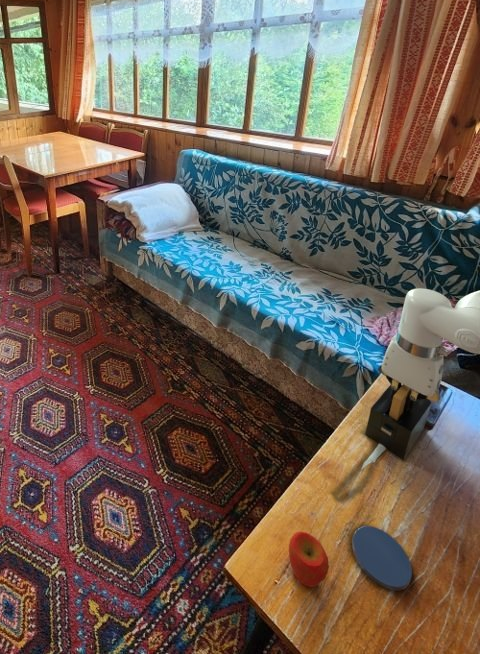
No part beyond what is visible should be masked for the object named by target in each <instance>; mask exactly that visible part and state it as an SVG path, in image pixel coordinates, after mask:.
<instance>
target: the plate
mask: <svg viewBox="0 0 480 654" xmlns="http://www.w3.org/2000/svg"><path fill="white" fill-rule="evenodd" d="M351 549H352V552H353V556H354V558H355V560H356V563H357V564H358V566H359V567H360V569H361V570H362V571H363V572H364V573H365V574H366V576H367V577H368V578H369V579H371V580H372V581H373V582H374V583H376V584H377V585H379V586H381V587H382V588H384V589H386V590H389V591H395V592H397V591H399V592H400V591H404V590H405V589H407V588H408V586H410V583H411V580H412V577H413V569H412V565H411V561H410V559H409V557H408V555H407V553H406V552H405V550H404V548H403V547H402V546H401V545H400V543H399V542H398V541H397V540H396V539H395V538H394V537H392V536H391V535H390V534H388V533H387V532H386V531H384V530H382V529H380V528H379V527H375V526H370V525H364V526H361V527H358V528H357V529H356V530H355V531H354V533H353V536H352V541H351Z"/></svg>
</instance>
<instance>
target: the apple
mask: <svg viewBox="0 0 480 654" xmlns="http://www.w3.org/2000/svg"><path fill="white" fill-rule="evenodd" d="M288 554H289V561H290V567H291V570H292V572H293V574H294V576H295V577H296V579H297V580H298V581H299V583H300V584H302V585H303V586H305V587H308V588H309V587H310V588H312V587H315V586H318V585H319V584H321V583H322V582H323V581H324V580H325V579H326V577H327V575H328V573H329V568H330V566H329V565H330V563H329V557H328V554H327V553H326V550H325V549H324V546H323V544H322V542H320V541H319V540H318V539H317V538H316V537H315V536H314V535H312V534H311V533H308V532H306V531H301V530H299V531H296V532H295V533H293V535H292V536H291V538H290V540H289V544H288Z"/></svg>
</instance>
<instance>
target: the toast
mask: <svg viewBox="0 0 480 654" xmlns="http://www.w3.org/2000/svg"><path fill="white" fill-rule="evenodd" d="M401 385H402V386H401V387H400V389H399V390H398V391H397V393H396V394H395V395H394V397H393V401H392V405H391V409H390V413H389V416H390V417H391V418H393V419H395V420H396V421H398V422H399V421H400V420H401V419H402V417H403V416H404V415H405V413H406V411H404V406H405V402H406V398H407V397H408V395H409V394H410V393H411V391H412V389H411V388H409V387H408V386H406V385H404V384H401Z"/></svg>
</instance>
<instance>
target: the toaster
mask: <svg viewBox="0 0 480 654" xmlns="http://www.w3.org/2000/svg"><path fill="white" fill-rule="evenodd" d="M392 390H393V389H392V388H391V384H390V383H389V385H388V386H387V388H386V389H385V390H384V391H383V392H382V394H381V395H380V396H379V397H378V399H376V401H375V402H374V404H373V405H372V406H371V407H370V411H369V416H368V420H367V424H366V429H365V433H364V434H365V436H366V437H368V438H369V439H371V440H373V441H374V442H376V443H377V445H378V444H381V445H383V446H384V447H385V448H386V449H385V450H387V451H389V452H390V453H392V454H393V455H395V456H396V457H397V458H399V459H400V460H402V461H405V459H406V458H407V456H408V454H409V453H410V451H411V450H412V449H413V446H414V445H415V443H416V442H417V441H418V440H419V438H420V436H421V435H422V433H423V431H424V430H425V427H426V423H427V420H428V417H429V413H430V411H431V410H430V409H431V407H432V402H433V401H431V400H428V399H419V400H416V404H415V407H414V408H413V409H411V408H409V410H408V411H407V412H406V413H405V415H404V416H403V417H402V419H401V420H400V421H399V422H398V421H396V420H395V419H393V418H391V417H390V416H389V413H390V409H391V405H392V401H393V398H392V397H391V395H392Z"/></svg>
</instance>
